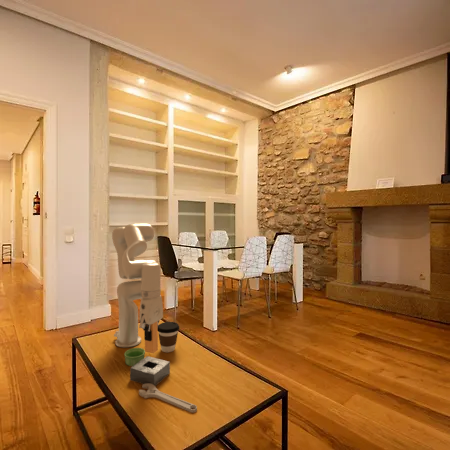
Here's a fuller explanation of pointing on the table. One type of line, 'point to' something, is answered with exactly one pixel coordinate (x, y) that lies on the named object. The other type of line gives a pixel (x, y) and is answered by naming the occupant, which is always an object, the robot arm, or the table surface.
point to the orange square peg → (152, 345)
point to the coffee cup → (168, 335)
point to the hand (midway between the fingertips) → (151, 338)
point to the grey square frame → (150, 371)
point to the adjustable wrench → (166, 397)
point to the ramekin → (134, 356)
